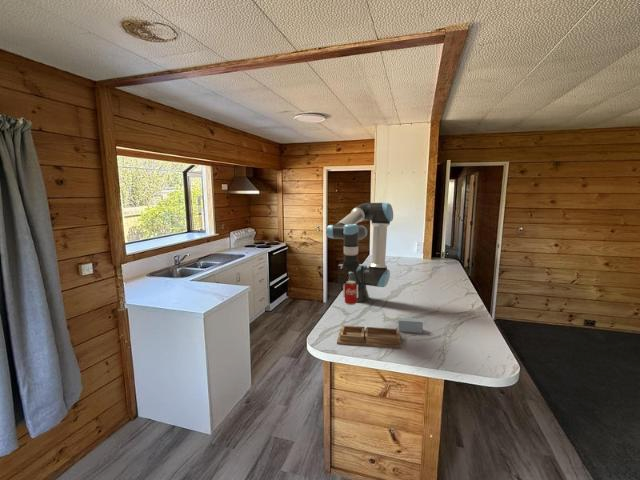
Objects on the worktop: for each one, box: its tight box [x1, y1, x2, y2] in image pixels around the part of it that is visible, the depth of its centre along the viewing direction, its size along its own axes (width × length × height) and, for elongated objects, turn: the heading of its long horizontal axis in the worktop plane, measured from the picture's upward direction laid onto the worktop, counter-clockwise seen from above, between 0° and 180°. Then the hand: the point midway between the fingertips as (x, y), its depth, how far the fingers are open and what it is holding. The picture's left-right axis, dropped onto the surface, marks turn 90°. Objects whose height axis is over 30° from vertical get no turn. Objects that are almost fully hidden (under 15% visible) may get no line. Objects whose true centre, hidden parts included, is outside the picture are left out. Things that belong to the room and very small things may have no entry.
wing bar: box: [397, 317, 424, 334], centre depth 164 cm, size 4×12×6 cm, turn 80°
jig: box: [336, 324, 402, 349], centre depth 155 cm, size 14×30×4 cm, turn 80°
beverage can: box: [344, 280, 358, 306], centre depth 166 cm, size 6×6×12 cm
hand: (350, 296), depth 166 cm, fingers closed on beverage can, 6 cm apart
